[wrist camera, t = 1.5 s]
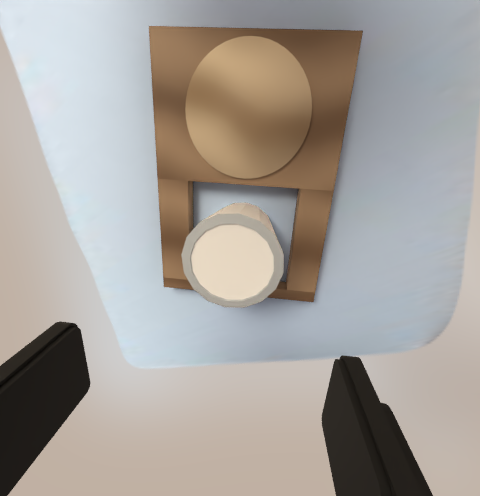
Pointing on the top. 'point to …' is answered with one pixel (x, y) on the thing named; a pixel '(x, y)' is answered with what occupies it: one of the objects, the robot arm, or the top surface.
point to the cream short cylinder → (234, 256)
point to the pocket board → (251, 128)
